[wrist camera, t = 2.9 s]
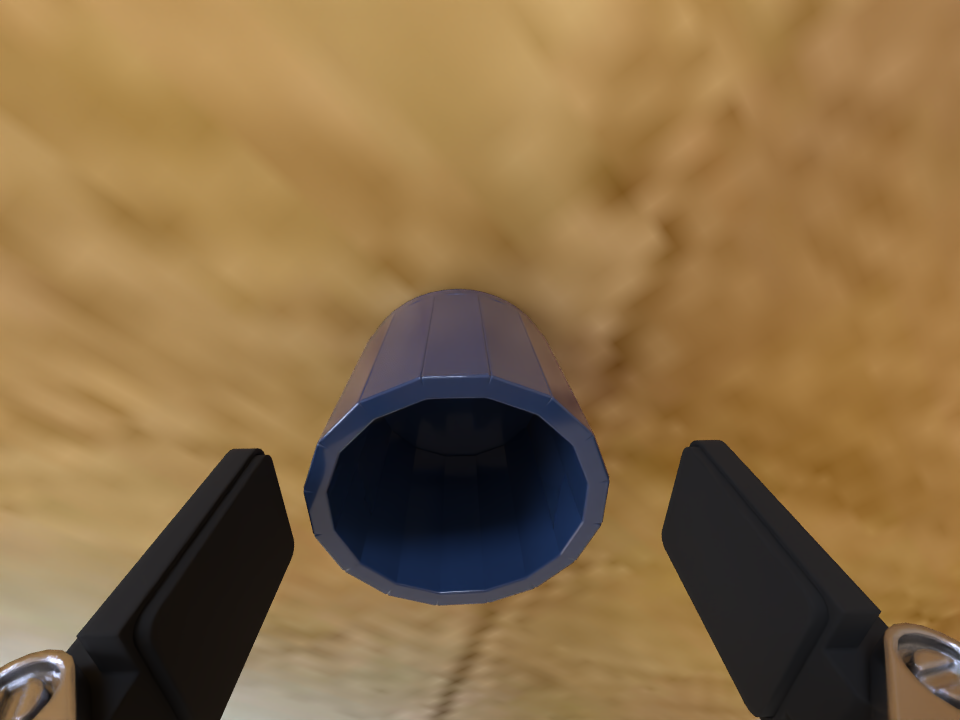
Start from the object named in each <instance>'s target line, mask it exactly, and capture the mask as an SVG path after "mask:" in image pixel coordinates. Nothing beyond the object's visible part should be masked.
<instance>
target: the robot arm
mask: <svg viewBox="0 0 960 720" xmlns="http://www.w3.org/2000/svg"><path fill="white" fill-rule="evenodd" d="M662 542H663V545H664V548H665V550H666V552H667V554H668V556H669V558H670V560H671V562H672V563H673V565H674V567H675V569H676V571H677V573H678V575H679V577H680V579H681V581H682V583H683V585H684V587H685V589H686V591H687V593H688V594H689V596H690V598H691V600H692V602H693V604H694V606H695V608H696V610H697V612H698V614H699V616H700V618H701V620H702V622H703V624H704V625H705V627H706V629H707V631H708V633H709V635H710V637H711V639H712V641H713V643H714V645H715V647H716V649H717V651H718V653H719V655H720V656H721V658H722V660H723V662H724V664H725V666H726V668H727V670H728V672H729V674H730V676H731V678H732V680H733V682H734V684H735V685H736V687H737V689H738V691H739V693H740V695H741V697H742V699H743V701H744V703H745V705H746V706H747V708H748V710H749V711H750V712H751V713H752V714H753V715H754V716H756V717H760V719H761V720H960V642H958V641H956V640H954V639H953V638H951V637H949V636H947V635H945V634H943V633H941V632H938V631H936V630H933V629H930V628H928V627H925V626H922V625H916V624H910V623H900V624H893V625H892V626H891V627H888V626H887V625H886V624H885V623H884V622H883V621H882V620H881V619H880V618H879V617H878V616H879V614H880V613H881V611H880V610H879V609H878V607H877V606H876V605H875V604H874V603H873V602H872V601H871V600H870V599H869V598H868V597H867V596H866V595H865V593H864V592H863V591H862V590H861V589H860V588H859V587H858V586H857V585H856V584H855V583H854V582H853V581H852V579H851V578H850V577H849V576H848V575H847V574H846V573H845V572H844V571H843V570H842V569H841V568H840V566H839V565H838V564H837V563H836V562H835V561H834V560H833V559H832V558H831V557H830V556H829V555H828V554H827V552H826V551H825V550H824V549H823V548H822V547H821V546H820V545H819V544H818V543H817V542H816V541H815V540H814V538H813V537H812V536H811V535H810V534H809V533H808V532H807V531H806V530H805V529H804V528H803V527H802V526H801V524H800V523H799V522H798V521H797V520H796V519H795V518H794V517H793V516H792V515H791V514H790V513H789V511H788V510H787V509H786V508H785V507H784V506H783V505H782V504H781V503H780V502H779V501H778V500H777V499H776V497H775V496H774V495H773V494H772V493H771V492H770V491H769V490H768V489H767V488H766V487H765V486H764V485H763V483H762V482H761V481H760V480H759V479H758V478H757V477H756V476H755V475H754V474H753V473H752V472H751V470H750V469H749V468H748V467H747V466H746V465H745V464H744V463H743V462H742V461H741V460H740V459H739V458H738V456H737V455H736V454H735V453H734V452H733V451H732V450H731V449H730V448H729V447H728V446H727V445H726V444H725V443H724V442H723V441H720V440H696V441H693V442H692V443H691V444H690V446H689V447H686V448H685V449H684V450H683V452H682V456H681V460H680V464H679V468H678V471H677V475H676V479H675V483H674V487H673V491H672V494H671V498H670V502H669V506H668V510H667V514H666V517H665V521H664V525H663V529H662ZM293 551H294V539H293V535H292V531H291V528H290V524H289V520H288V517H287V513H286V509H285V505H284V502H283V498H282V494H281V491H280V487H279V483H278V479H277V476H276V472H275V468H274V464H273V461H272V458H271V457H270V455H265V454H264V452H263V451H262V450H261V449H258V448H257V449H232V450H230V451H229V452H228V453H227V454H226V455H225V456H224V458H223V459H222V460H221V461H220V462H219V464H218V465H217V466H216V467H215V468H214V470H213V471H212V472H211V473H210V475H209V476H208V477H207V478H206V479H205V481H204V482H203V483H202V484H201V485H200V487H199V488H198V489H197V490H196V492H195V493H194V494H193V495H192V496H191V498H190V499H189V500H188V501H187V502H186V504H185V505H184V506H183V507H182V509H181V510H180V511H179V512H178V513H177V515H176V516H175V517H174V518H173V519H172V521H171V522H170V523H169V524H168V525H167V527H166V528H165V529H164V530H163V532H162V533H161V534H160V535H159V536H158V538H157V539H156V540H155V541H154V542H153V544H152V545H151V546H150V547H149V549H148V550H147V551H146V552H145V553H144V555H143V556H142V557H141V558H140V559H139V561H138V562H137V563H136V564H135V566H134V567H133V568H132V569H131V570H130V572H129V573H128V574H127V575H126V576H125V578H124V579H123V580H122V581H121V582H120V584H119V585H118V586H117V587H116V589H115V590H114V591H113V592H112V593H111V595H110V596H109V597H108V598H107V599H106V601H105V602H104V603H103V604H102V606H101V607H100V608H99V609H98V610H97V612H96V613H95V614H94V615H93V616H92V618H91V619H90V620H89V621H88V623H87V624H86V625H85V626H84V627H83V629H82V630H81V631H80V632H79V633H78V635H77V639H76V641H75V642H74V643H73V644H72V645H71V647H70V648H69V649H68V650H67V652H64V651H63V650H44V651H40V652H35V653H31V654H28V655H26V656H24V657H21V658H19V659H16V660H14V661H12V662H9V663H8V664H6V665H4V666H3V667H1V668H0V720H220V719H221V717H222V714H223V712H224V710H225V708H226V705H227V703H228V701H229V699H230V696H231V694H232V692H233V690H234V687H235V685H236V683H237V680H238V678H239V676H240V674H241V671H242V669H243V667H244V665H245V662H246V660H247V658H248V656H249V653H250V651H251V649H252V647H253V644H254V642H255V640H256V637H257V635H258V633H259V631H260V628H261V626H262V624H263V622H264V619H265V617H266V615H267V613H268V610H269V608H270V606H271V604H272V601H273V599H274V597H275V594H276V592H277V590H278V588H279V585H280V583H281V581H282V579H283V576H284V574H285V572H286V570H287V567H288V565H289V563H290V561H291V558H292V555H293Z"/></svg>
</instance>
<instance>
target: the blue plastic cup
mask: <svg viewBox="0 0 960 720" xmlns="http://www.w3.org/2000/svg"><path fill="white" fill-rule="evenodd" d="M608 487H609V475H608V472H607V469H606V466H605V463H604V461H603V458H602V455H601V452H600V449H599V447H598V444H597V441H596V438H595V435H594V433H593V431H592V429H591V428H590V426H589V424H588V422H587V420H586V418H585V416H584V414H583V412H582V410H581V408H580V406H579V404H578V402H577V400H576V398H575V396H574V394H573V392H572V390H571V388H570V386H569V384H568V382H567V380H566V378H565V376H564V374H563V372H562V370H561V368H560V366H559V364H558V362H557V360H556V358H555V356H554V354H553V352H552V350H551V348H550V346H549V344H548V342H547V340H546V338H545V337H544V335H543V334H542V333H541V332H540V331H539V329H538V328H537V326H536V325H535V324H534V323H533V322H532V320H531V319H530V318H529V317H528V316H527V315H526V314H524V313H523V312H522V311H521V310H520V309H519V308H517V307H515V306H514V305H512V304H511V303H509V302H508V301H505V300H503V299H501V298H499V297H497V296H494V295H491V294H488V293H485V292H480V291H474V290H466V289H451V290H441V291H436V292H431V293H428V294H425V295H422V296H419V297H416V298H414V299H412V300H410V301H408V302H407V303H405V304H403V305H402V306H400V307H399V308H397V309H396V310H394V311H393V312H392V313H391V314H390V315H389V316H388V317H387V318H386V319H385V320H384V321H383V322H382V323H381V325H380V326H379V327H378V328H377V330H376V331H375V333H374V335H373V336H372V337H371V338H370V339H369V341H368V343H367V345H366V347H365V349H364V351H363V353H362V355H361V357H360V359H359V361H358V363H357V365H356V367H355V369H354V371H353V373H352V375H351V377H350V379H349V381H348V383H347V385H346V387H345V389H344V391H343V393H342V395H341V397H340V399H339V401H338V403H337V405H336V407H335V409H334V411H333V413H332V415H331V417H330V419H329V421H328V423H327V425H326V427H325V429H324V431H323V433H322V435H321V437H320V439H319V441H318V443H317V445H316V448H315V451H314V455H313V458H312V461H311V465H310V468H309V471H308V474H307V478H306V481H305V484H304V496H305V500H306V505H307V509H308V513H309V517H310V521H311V525H312V530H313V534H315V538H316V539H317V540H318V541H319V542H320V544H321V545H322V546H323V547H324V548H325V549H326V551H327V552H328V553H329V554H330V555H331V557H332V558H333V559H334V560H335V561H336V563H337V564H338V565H339V566H340V567H341V568H342V570H345V572H346V573H348V574H350V575H352V576H354V577H355V578H357V579H359V580H361V581H363V582H364V583H366V584H368V585H370V586H372V587H373V588H375V589H377V590H379V591H381V592H383V593H384V594H388V595H389V596H394V597H398V598H403V599H407V600H412V601H417V602H421V603H426V604H431V605H439V606H440V605H461V604H483V603H487V602H489V603H490V602H493V601H497V600H500V599H503V598H506V597H509V596H512V595H516V594H519V593H522V592H525V591H528V590H531V589H534V588H535V587H538V586H540V585H541V584H543V583H544V582H546V581H547V580H548V579H550V578H551V577H553V576H554V575H556V574H557V573H559V572H560V571H562V570H563V569H565V568H566V567H568V566H569V565H571V564H572V563H574V561H575V560H577V558H578V557H579V556H580V554H581V553H582V551H583V550H584V549H585V547H586V546H587V544H588V543H589V542H590V540H591V539H592V538H593V536H594V535H595V533H596V532H597V531H598V529H599V528H600V526H601V523H602V522H603V516H604V510H605V505H606V499H607V493H608Z"/></svg>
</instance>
